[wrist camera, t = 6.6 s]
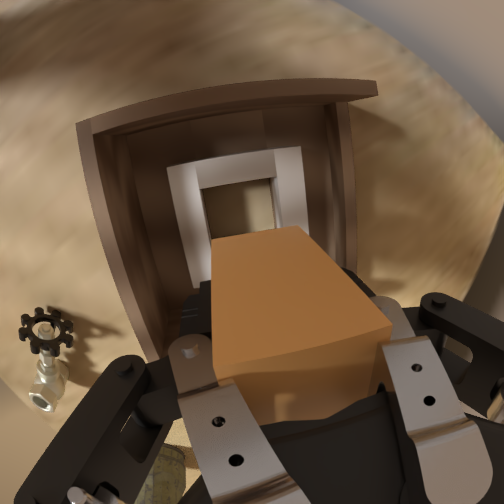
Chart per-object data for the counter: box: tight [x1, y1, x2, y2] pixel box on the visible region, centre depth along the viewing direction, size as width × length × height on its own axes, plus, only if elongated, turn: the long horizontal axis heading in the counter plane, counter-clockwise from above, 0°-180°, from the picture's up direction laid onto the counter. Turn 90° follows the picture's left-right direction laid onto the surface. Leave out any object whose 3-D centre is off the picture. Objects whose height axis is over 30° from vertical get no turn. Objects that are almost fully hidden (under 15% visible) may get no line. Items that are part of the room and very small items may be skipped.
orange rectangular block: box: [211, 225, 393, 426], centre depth 10 cm, size 4×4×8 cm
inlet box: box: [76, 78, 378, 363], centre depth 20 cm, size 18×18×8 cm
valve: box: [19, 307, 73, 412], centre depth 24 cm, size 7×7×12 cm
